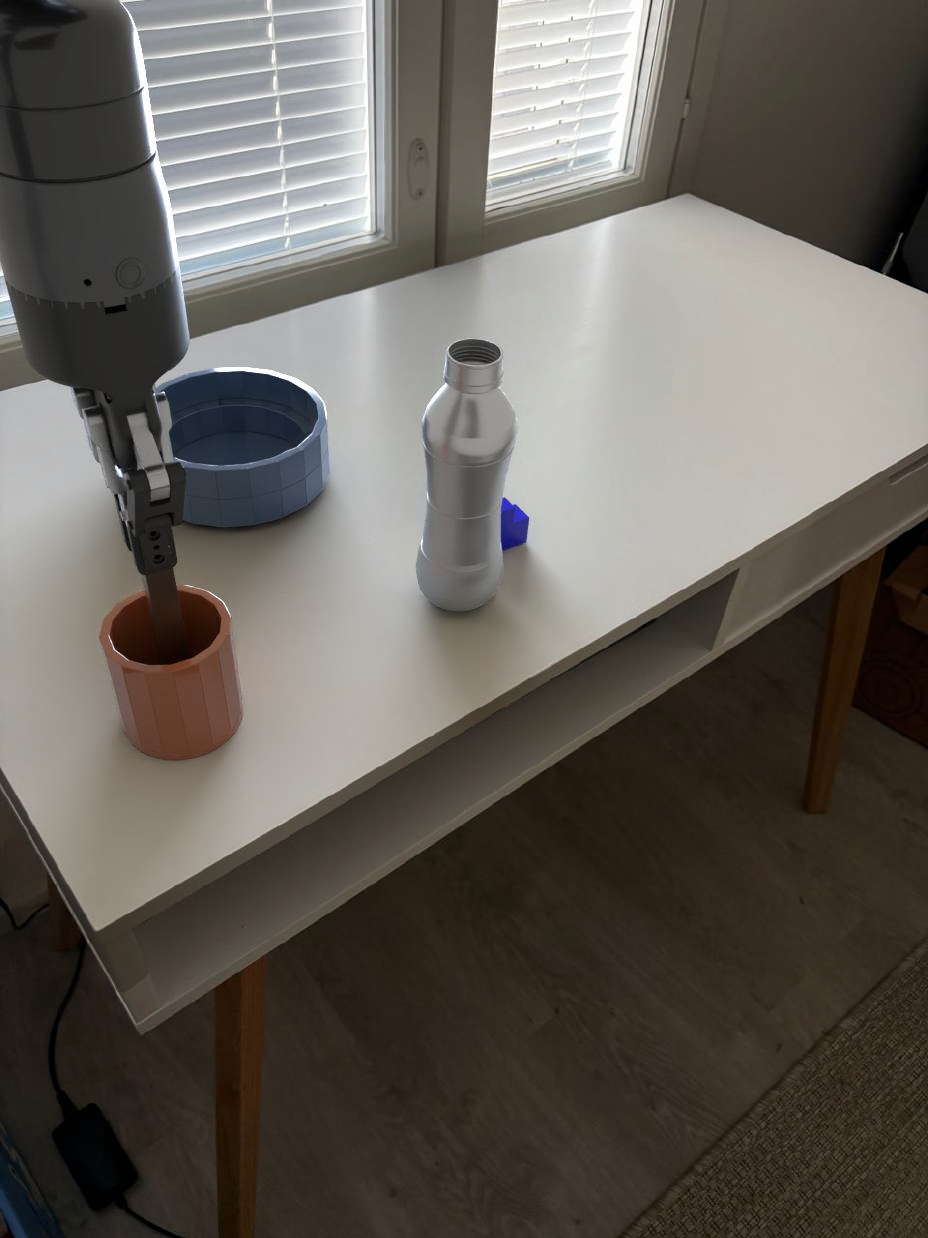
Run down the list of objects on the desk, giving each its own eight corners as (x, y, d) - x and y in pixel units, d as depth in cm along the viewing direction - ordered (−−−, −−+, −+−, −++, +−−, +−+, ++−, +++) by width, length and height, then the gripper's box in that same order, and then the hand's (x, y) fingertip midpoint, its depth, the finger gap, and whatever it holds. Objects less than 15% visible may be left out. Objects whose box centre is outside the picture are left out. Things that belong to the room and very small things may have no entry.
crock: (141, 776, 62) (118, 688, 57) (110, 694, 67) (86, 605, 62) (259, 735, 65) (248, 647, 60) (221, 659, 70) (207, 571, 64)
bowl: (174, 553, 78) (163, 489, 74) (121, 450, 87) (109, 388, 83) (357, 503, 84) (356, 442, 80) (289, 412, 93) (285, 353, 89)
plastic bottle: (400, 607, 75) (404, 363, 61) (436, 555, 79) (448, 318, 66) (480, 633, 73) (503, 389, 60) (513, 578, 78) (541, 340, 64)
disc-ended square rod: (158, 733, 63) (107, 515, 51) (138, 687, 66) (86, 469, 54) (226, 710, 65) (192, 494, 53) (205, 666, 67) (168, 451, 56)
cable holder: (526, 542, 81) (531, 502, 79) (489, 554, 80) (493, 514, 77) (474, 489, 86) (477, 450, 83) (439, 500, 85) (441, 460, 82)
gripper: (-25, 212, 48) (56, 506, 60) (35, 342, 39) (116, 655, 51) (133, 191, 51) (181, 476, 63) (222, 308, 42) (257, 612, 54)
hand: (151, 555), depth 57 cm, fingers closed on disc-ended square rod
